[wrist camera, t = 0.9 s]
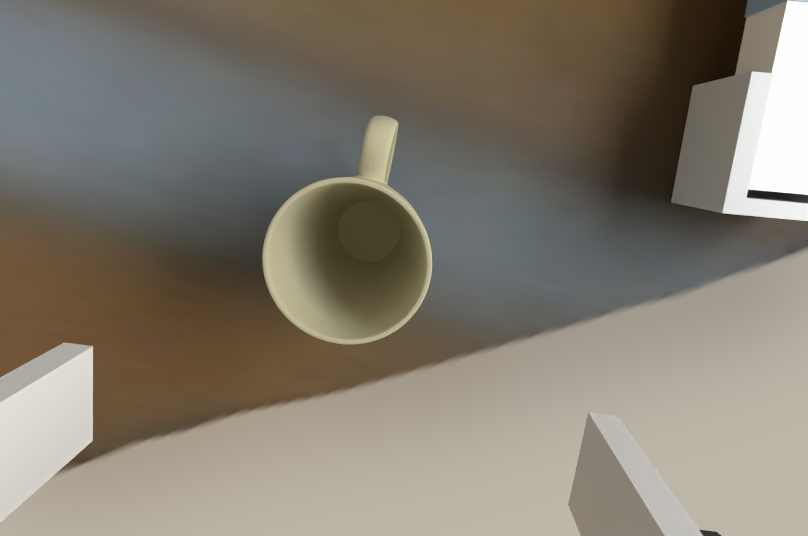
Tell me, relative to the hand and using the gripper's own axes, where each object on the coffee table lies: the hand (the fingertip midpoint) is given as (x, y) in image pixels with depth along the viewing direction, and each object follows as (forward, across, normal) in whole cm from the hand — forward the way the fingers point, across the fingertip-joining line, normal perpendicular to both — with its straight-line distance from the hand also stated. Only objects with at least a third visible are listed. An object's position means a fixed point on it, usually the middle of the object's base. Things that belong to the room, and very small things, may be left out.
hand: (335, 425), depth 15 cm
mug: (+27, -2, +2) cm, 27 cm away
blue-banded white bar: (+25, +23, +15) cm, 37 cm away
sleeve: (+27, +23, +10) cm, 37 cm away
